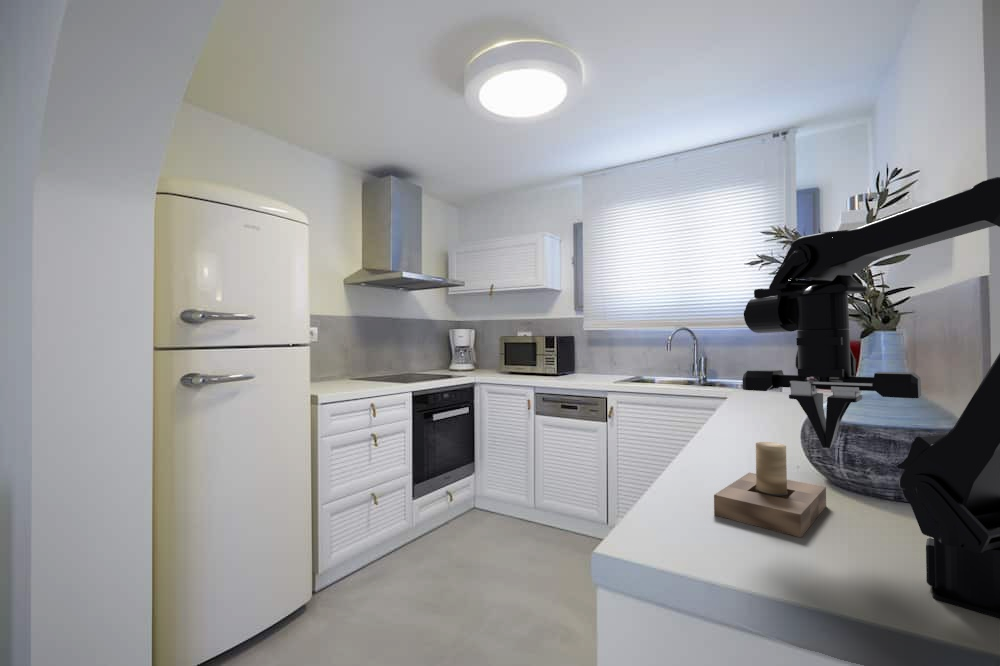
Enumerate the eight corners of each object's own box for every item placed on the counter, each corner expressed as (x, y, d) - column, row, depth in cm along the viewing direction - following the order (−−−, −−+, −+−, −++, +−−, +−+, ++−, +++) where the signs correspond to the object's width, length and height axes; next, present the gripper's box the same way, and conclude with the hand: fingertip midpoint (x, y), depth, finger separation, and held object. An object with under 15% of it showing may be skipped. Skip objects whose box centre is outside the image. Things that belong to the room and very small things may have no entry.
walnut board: (826, 506, 71) (825, 486, 71) (800, 537, 60) (800, 514, 60) (749, 489, 79) (749, 472, 79) (714, 514, 68) (713, 494, 68)
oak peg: (791, 510, 69) (790, 444, 69) (783, 518, 66) (782, 449, 66) (760, 503, 72) (759, 440, 72) (752, 510, 69) (751, 444, 69)
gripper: (921, 328, 60) (926, 448, 59) (763, 333, 73) (766, 431, 73) (914, 326, 52) (921, 463, 51) (739, 332, 65) (743, 441, 65)
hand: (827, 447), depth 60 cm, fingers closed
